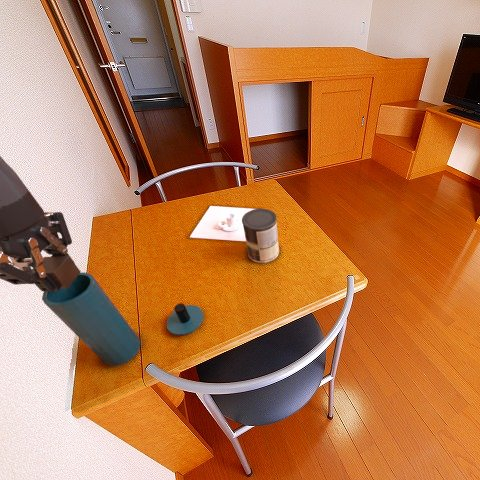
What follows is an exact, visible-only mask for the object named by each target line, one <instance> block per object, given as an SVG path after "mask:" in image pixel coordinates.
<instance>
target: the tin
mask: <svg viewBox="0 0 480 480" xmlns="http://www.w3.org/2000/svg"><path fill="white" fill-rule="evenodd" d="M41 300H42V302H43V303H44V305H45V306H47V308H48V309H50V311H52V312H53V314H54V315H55V316H56V317H58V318H59V319H60V320H61V321H62V322H63V323H64V325H66V327H67V328H68V329H69V330H70V331H72V333H74V334H75V336H76V337H77V338H79V340H81V341H82V343H84V344H85V346H86V347H88V349H89V350H90V351H92V352H93V353H94V354H95V355H96V356H97V357H98V358H99V359H100V360H101V361H102V362H103V363H104V364H105V365H107V366H110V367H118V366H121V365H123V364H125V363H127V362H129V361H131V360H132V359H133V358H134V357H135V356H136V355H137V354H138V352H139V350H140V347H141V340H140V338H139V336H138V334H137V333H136V332H135V331H134V330H133V328H132V327H131V326H130V324H129V323H128V322H127V320H126V318H125V317H124V316H123V315H122V313H121V312H120V311H119V309H118V308H117V307H116V305H115V304H114V302H112V300H111V299H110V297H109V296H108V294H107V293H106V292H105V291H104V289H103V288H102V286H101V285H100V284H99V282H98V281H97V280H96V278H95V277H94V275H92V274H91V273H88V272H80V274H79V275H78V276H77V277H76V279H75V280H74V281H73V282H72V284H71V285H70V286H69V288H68V289H59V290H58V291H53V292H43V293H42V296H41Z"/></svg>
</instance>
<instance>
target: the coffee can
mask: <svg viewBox="0 0 480 480" xmlns="http://www.w3.org/2000/svg"><path fill="white" fill-rule="evenodd" d="M253 209H254V210H251V211H249V212H247V213H246V214H244V216H243V217H242V224H243V228H244V233H245V238H246V241H245V243H246V244H245V245H246V249H247V255H248V258H249V259H250V261H253V262H255V263H259V264H266V263H270V262H272V261H274V260H276V258H277V257H278V256H279V254H280V247H279V236H278V222H277V220H278V218H277V214H276V213H275V212H274V211H273V210H271V209H267V208H253Z"/></svg>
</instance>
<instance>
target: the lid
mask: <svg viewBox="0 0 480 480" xmlns="http://www.w3.org/2000/svg"><path fill="white" fill-rule="evenodd" d="M203 321H204V312H203V309H202V308H201V307H200V306H197V305H193V304H187V305H185V304H184V303H182V302H181V303H177V304H176V305H174V307H173V312H172V313H171V314H170V315H169V316H168V318H167V320H166V329H167V330H168V332H169V333H170V334H171V335H174V336H179V337H180V336H186V335H190V334H192V333H193V332H195V331H196V330H197V329H198V328H199V327H201V325H202V323H203Z"/></svg>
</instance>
